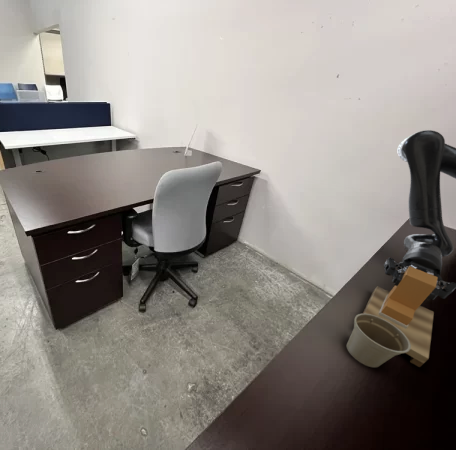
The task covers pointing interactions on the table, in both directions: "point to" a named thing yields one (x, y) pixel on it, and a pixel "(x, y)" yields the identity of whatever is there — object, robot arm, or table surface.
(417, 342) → the wooden board
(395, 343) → the flower pot
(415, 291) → the orange block
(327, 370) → the table surface
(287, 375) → the table surface
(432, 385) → the table surface
